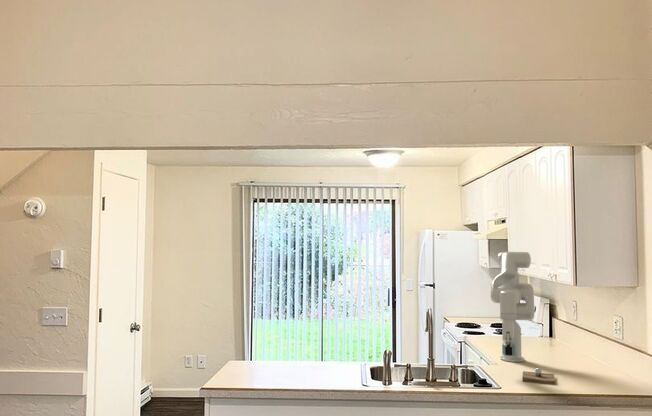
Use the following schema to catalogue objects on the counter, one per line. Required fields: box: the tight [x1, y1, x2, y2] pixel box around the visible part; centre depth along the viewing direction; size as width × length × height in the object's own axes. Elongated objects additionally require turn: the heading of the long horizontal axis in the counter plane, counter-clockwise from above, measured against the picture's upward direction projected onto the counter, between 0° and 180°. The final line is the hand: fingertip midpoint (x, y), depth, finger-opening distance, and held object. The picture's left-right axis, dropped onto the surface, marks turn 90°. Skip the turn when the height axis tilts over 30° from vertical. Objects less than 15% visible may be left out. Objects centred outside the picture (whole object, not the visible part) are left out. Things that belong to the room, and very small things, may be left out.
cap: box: [501, 342, 516, 356], centre depth 248 cm, size 6×6×5 cm
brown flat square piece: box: [521, 371, 556, 386], centre depth 242 cm, size 14×14×2 cm
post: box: [534, 367, 543, 377], centre depth 242 cm, size 3×3×4 cm
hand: (509, 353), depth 248 cm, fingers closed on cap, 6 cm apart
